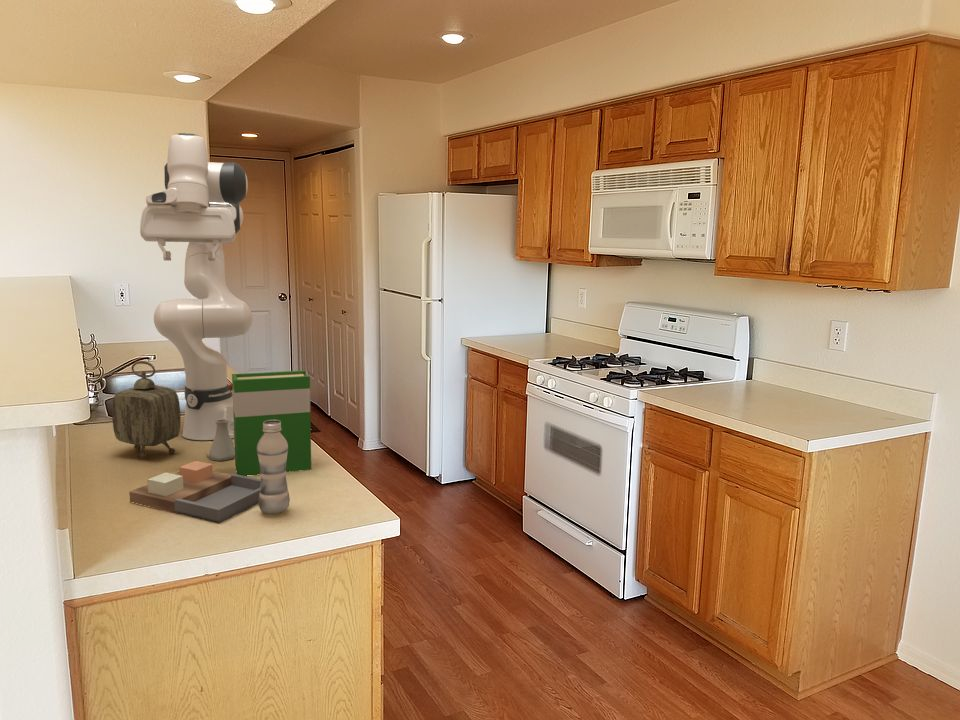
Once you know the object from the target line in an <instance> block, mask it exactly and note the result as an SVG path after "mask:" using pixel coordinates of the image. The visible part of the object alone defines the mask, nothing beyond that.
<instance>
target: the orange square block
mask: <svg viewBox="0 0 960 720" xmlns="http://www.w3.org/2000/svg"><path fill="white" fill-rule="evenodd" d="M179 472H180V476H183V480H184V481H189V482H194V483H199V482H201V481H203V480H206V479H208V478H211V477H213V472H214V469H213V463H209V462H203V461H198V460H194V461H192V462H190V463H187V464H184V465H182V466H179Z"/></svg>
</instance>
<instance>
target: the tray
mask: <svg viewBox="0 0 960 720" xmlns="http://www.w3.org/2000/svg"><path fill="white" fill-rule="evenodd" d="M230 475H231V485H230V486H228V487H226V488H224V489H221V490H219V491H217V492H215V493H213V494H210V495H208V496H206V497H204V498H201V499H199V500H197V501H195V502H192V501H188V500H184V499H179V498H177V499H175V500H174V503H175V513H174V514H177V515H182V516H185V517H190V518H194V519H197V520H203V521H206V522H210V523H215V524H219V525H220V524H222V523H224V522H225V521H227V520H230V519H231V518H233V517H235V516H237V515H239V514H241V513H244V512H245V511H247V510H249V509H251V508H253V507H255V506H257V505H259V503H258V501H259V493H260V481H261V478H256V477H251V476H242V475H237V473H233V474H230Z"/></svg>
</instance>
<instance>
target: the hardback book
mask: <svg viewBox="0 0 960 720" xmlns="http://www.w3.org/2000/svg"><path fill="white" fill-rule="evenodd" d="M306 373H307V372H306V370H287V371H269V372H268V371H267V372H266V371H265V372H250V373H249V372H247V373H246V372H245V373H244V372H243V373H231V380H232V381H231V384H232V387H233V390H232V396H233V414H234V438H233V439H234V440H233V441H234V447H235V458H234V462H235V463H234V465H235V467H236V468H235V470H236V471H237V472H236V474H237V475H242V476H247V475H254V476H258V475H257V474H260V464H259V459H258V454H257V444H258V442H259V440H260V439H261V437H262V436H263V434H264V432H263V422H264V421H268V420H279V421H281V431H280V433H281V434H282V435H283V437H284V438H285V440H286V441H287V444H288V452H287V461H286V473H290V472H289V471H293V472H299V470H303V471H310V469H311V470H312V437H311V436H312V435H311V434H312V432H311V431H312V429H311V428H312V425H311V423H312V422H311V376H310V375H306ZM247 477H248V476H247Z"/></svg>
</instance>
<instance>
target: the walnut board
mask: <svg viewBox="0 0 960 720" xmlns="http://www.w3.org/2000/svg"><path fill="white" fill-rule="evenodd" d="M174 474H176V475H180V471H179V472H176V473H174ZM231 475H232V474H226V473H222V472H217V471H213V477H211V478H208V479H206V480H203V481H201V482H199V483H194V482H189V481H184V480H183V489H182V490H180V491H177V492H175V493H173V494H170V495H168V496H162V495H157V494H153V493H149V492H148V483H147V484H145V485H143V486H140V487H137V488H134V489H132V490H129V503H131V502H134V503H133V504H135V503H138V504H137V505H139V504H142V505H141V506H143V505H146V506H145V507H147V506H150V507H149V508H151V507H154V508H153V509H156V508H157V510H160V509H161V510H160V511H164V510H165V511H164V512H168V511H169V512H168V513H172V512H173V513H174V514H176V513H175V503H174V500H175V499H177V498H179V499H184V500H188V501H192V502H195V501H197V500H199V499H201V498H204V497H206V496H208V495H210V494H213V493H215V492H217V491H219V490H221V489H224V488H226V487H228V486H230V485H231ZM173 513H172V514H173Z"/></svg>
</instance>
